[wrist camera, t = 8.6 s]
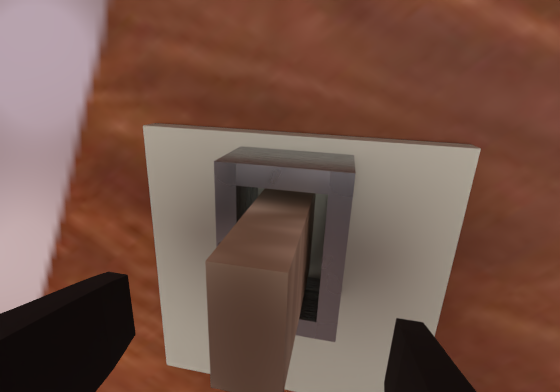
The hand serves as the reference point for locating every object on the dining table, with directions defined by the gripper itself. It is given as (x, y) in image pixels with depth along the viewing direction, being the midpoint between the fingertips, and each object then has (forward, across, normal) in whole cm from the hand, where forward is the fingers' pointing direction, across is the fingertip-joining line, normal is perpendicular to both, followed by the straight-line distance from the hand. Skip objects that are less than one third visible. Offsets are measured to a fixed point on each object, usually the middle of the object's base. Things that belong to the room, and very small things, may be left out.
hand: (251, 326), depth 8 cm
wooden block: (+7, 0, 0) cm, 7 cm away
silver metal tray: (+8, 0, 0) cm, 8 cm away
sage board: (+8, 0, +3) cm, 8 cm away
